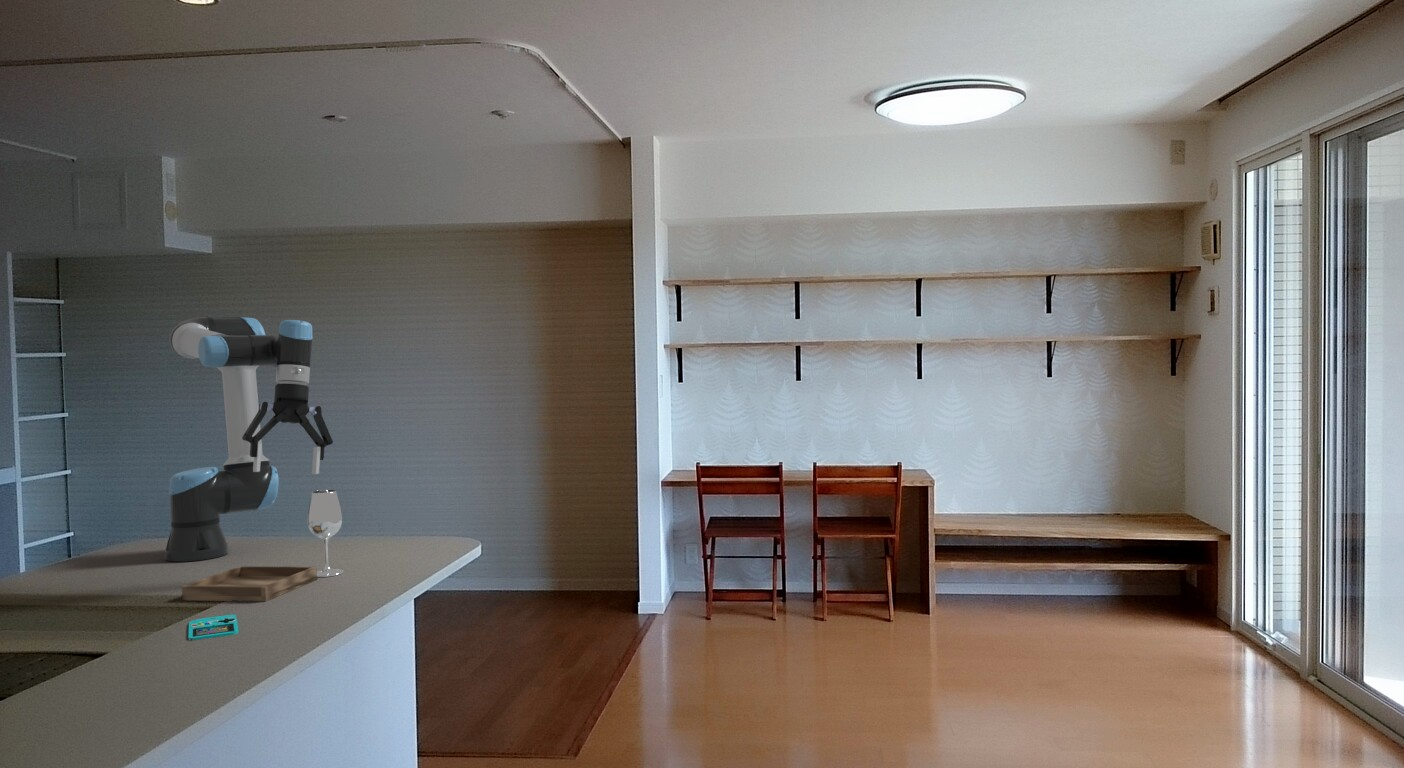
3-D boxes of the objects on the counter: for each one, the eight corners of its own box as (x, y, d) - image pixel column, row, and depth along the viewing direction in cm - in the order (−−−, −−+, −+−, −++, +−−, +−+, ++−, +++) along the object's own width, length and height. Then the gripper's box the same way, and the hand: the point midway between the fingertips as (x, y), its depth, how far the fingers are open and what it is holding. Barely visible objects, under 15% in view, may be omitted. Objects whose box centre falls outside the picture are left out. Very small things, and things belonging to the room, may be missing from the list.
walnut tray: (240, 578, 233) (239, 566, 233) (317, 579, 230) (316, 567, 230) (182, 600, 214) (181, 586, 213) (265, 601, 210) (265, 587, 210)
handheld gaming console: (235, 612, 199) (238, 630, 185) (236, 617, 199) (238, 635, 186) (189, 618, 195) (188, 637, 182) (189, 624, 195) (188, 643, 182)
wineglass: (332, 577, 231) (329, 493, 231) (302, 577, 233) (299, 493, 232) (350, 570, 239) (347, 489, 238) (321, 570, 241) (318, 489, 240)
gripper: (242, 377, 225) (235, 470, 222) (349, 387, 241) (344, 474, 238) (232, 380, 231) (225, 471, 228) (338, 390, 247) (333, 475, 244)
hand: (286, 473), depth 233 cm, fingers open, 13 cm apart
